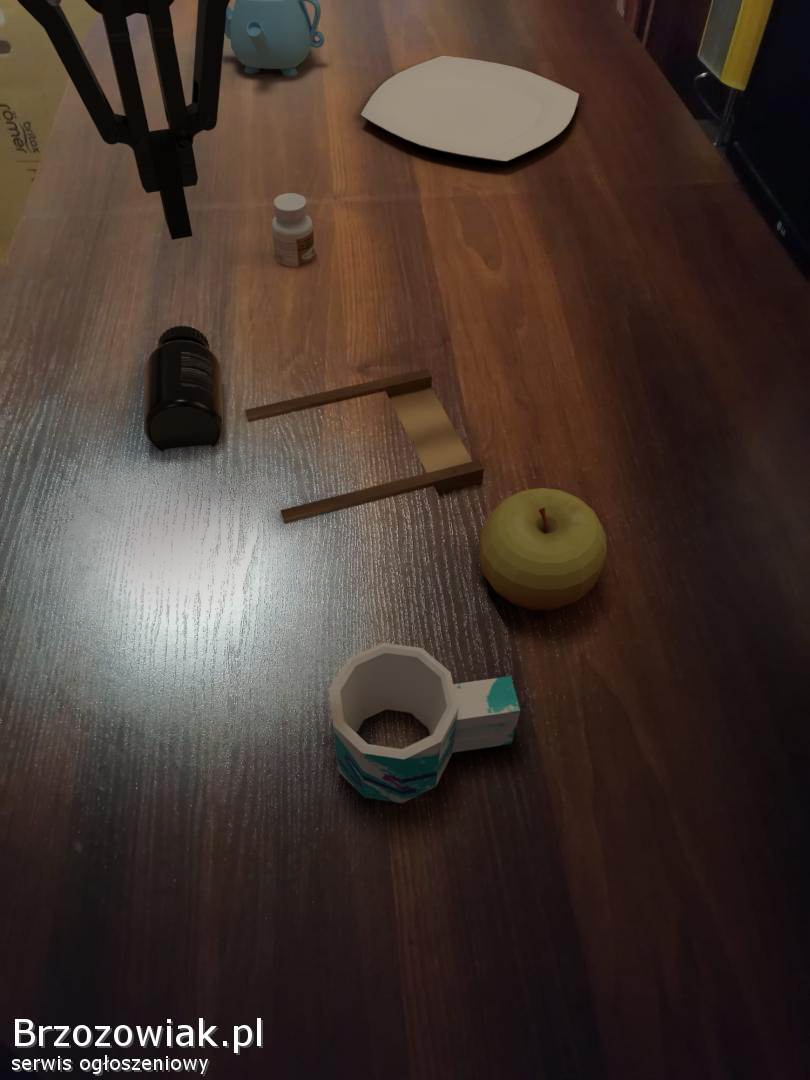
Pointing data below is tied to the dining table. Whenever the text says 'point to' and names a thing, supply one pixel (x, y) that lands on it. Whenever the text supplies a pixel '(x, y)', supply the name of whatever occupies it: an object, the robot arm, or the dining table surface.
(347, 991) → the dining table surface
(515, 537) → the apple
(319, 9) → the teapot
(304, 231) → the pill bottle
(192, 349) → the supplement bottle
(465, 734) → the mug
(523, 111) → the plate
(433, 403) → the brown u-shaped piece
